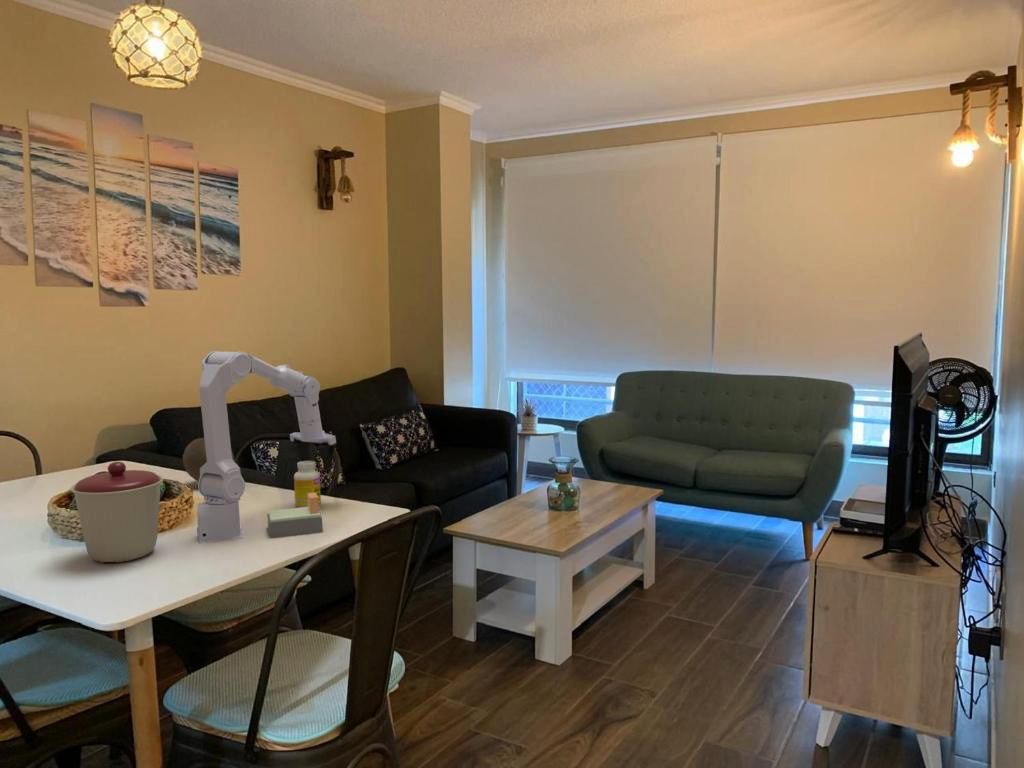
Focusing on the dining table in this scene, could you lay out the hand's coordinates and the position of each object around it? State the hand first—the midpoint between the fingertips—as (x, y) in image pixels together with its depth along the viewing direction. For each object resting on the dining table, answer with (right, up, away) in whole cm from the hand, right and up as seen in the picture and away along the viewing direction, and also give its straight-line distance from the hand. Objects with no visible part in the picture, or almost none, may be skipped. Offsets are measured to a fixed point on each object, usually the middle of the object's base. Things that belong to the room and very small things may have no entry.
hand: (317, 467), depth 207 cm
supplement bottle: (-2, -11, -3) cm, 12 cm away
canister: (-33, -16, -38) cm, 53 cm away
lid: (0, -9, -23) cm, 24 cm away
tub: (0, -13, -22) cm, 26 cm away
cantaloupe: (-39, -9, +26) cm, 48 cm away
